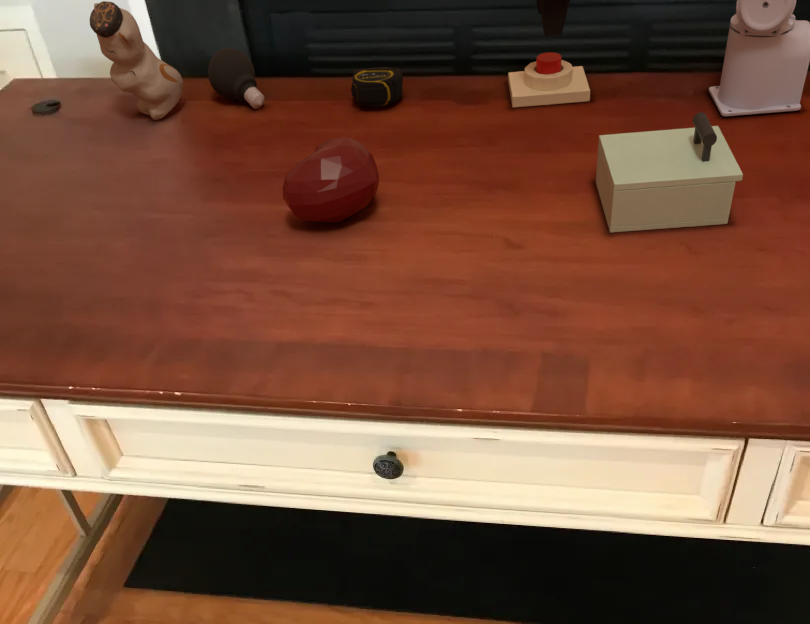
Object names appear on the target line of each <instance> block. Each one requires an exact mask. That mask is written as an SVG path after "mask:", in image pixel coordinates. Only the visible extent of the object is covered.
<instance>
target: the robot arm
mask: <svg viewBox="0 0 810 624" xmlns="http://www.w3.org/2000/svg"><path fill="white" fill-rule="evenodd" d="M535 2H536V8H537V12H538V15H540V16H541V25H542V30H543V34H544V37H554V36H562V34H563V32H564V28H565V24H566V18H567V15H568V10H569V5H570V3H571V0H535ZM796 4H797V0H736V3H735V14H734V15H733V16H731V18H730V22H729V29H728V34H727V39H726V46H725V51H724V59H723V64H722V71H721V75H720V76H721V77H720V83H719V85H715V86H709V88H708V93H709V94H710V97H711V98H712V100H713V102H714V104H715V106H716V107H717V109H718V112H719V113H720V115H721V116H722V117H736V116H749V115H759V114H760V115H762V114H772V113H773V114H775V113H784V112H785V113H786V112H796V111H800V110H801V109H802V105H801V100H802V95H803V92H804V87H805V83H806V79H807V75H808V70H809V66H810V21H808V20H804V19H803V20H798V19H796V16H795V14H794V10H795V8H796Z"/></svg>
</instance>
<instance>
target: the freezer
mask: <svg viewBox="0 0 810 624" xmlns="http://www.w3.org/2000/svg"><path fill="white" fill-rule="evenodd" d="M596 162H597V163H596V173H595V184H596V188H597V192H598V195H599V199H600V203H601V206H602V209H603V213H604V216H605V220H606V224H607V227H608V230H609V233H622V232H623V233H624V232H636V231H637V232H639V231H649V230H664V229H677V228H678V229H679V228H690V227H691V228H692V227H693V228H694V227H706V226H717V225H727V224H728V222H729V217H730V214H731V213H730V212H731V208H732V203H733V197H734V192H735V187H736V182H737V181H733V182H720V183H707V184H694V185H681V186H668V187H655V188H642V189H629V190H616V191H614V190H613V186H612V183H611V180H610V176H609V173H608V170H607V167H606V163H605V160H604V157H603V153H602V150H601V147H600V144H599V143H598V146H597V160H596Z"/></svg>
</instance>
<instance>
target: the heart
mask: <svg viewBox="0 0 810 624" xmlns="http://www.w3.org/2000/svg"><path fill="white" fill-rule="evenodd" d="M379 182H380V178H379V171H378V166H377V163H376V160H375V157H374V155H373V154H372V153H371V152H370V151H369V150H368V149H367V148H366V146H365V145H364V144H363V143H362V142H361V141H358V140H356V139H353V138H350V137H349V136H342V137H334V138H330V139H327V140H325V141H323V142H321V143H320V144H319V145H317V146H316V147H315V149H314V151H313V153H312V154H310V155H308V156H306V157H304V158H303V159H301V160H300V161H298V162H297V163H296V164H295V165H294V166H292V168H291V169H290V170H289V171H288V173H287V174H286V175H285V177H284V180H283V185H282V199H283V200H284V202H285V204H286V205H287V207H288V208H289V210H290V211H291V212H290V213H292V215H293V217H295V218H296V219H298V220H300V221H305V222H317V223H318V222H319V223H333V224H334V223H335V224H336V223H338V224H339V223H340V222H342V221H344V220H346V219H348V218H350V217H352V216H354V215H355V214H357V213H359V212H360V211H362V210H364V208H366V207H368V206H369V204H370V202H371V201H372V199H373V197H374V195H376V193H377V192H378V188H379Z"/></svg>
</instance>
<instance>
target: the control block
mask: <svg viewBox="0 0 810 624" xmlns="http://www.w3.org/2000/svg"><path fill="white" fill-rule="evenodd" d="M507 85H508V90H509V96H510V102H511V107H512V109H513V108H526V107H537V106H551V105H559V104H560V105H561V104H571V103H572V104H573V103H583V102H590V100H591V88H590V85H589V81H588V79H587V75H586V73H585V69H584V66H583V65H579V66H573V65H572V64H571V63H570V62H568V61H566V60H564V59H561V71H560V72H558V73H555V74H547V75H546V74H539V73H537V72H536V61H533V62H529V64H527V65H526V66H525V67H524V70H519V71H510V72H507Z"/></svg>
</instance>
